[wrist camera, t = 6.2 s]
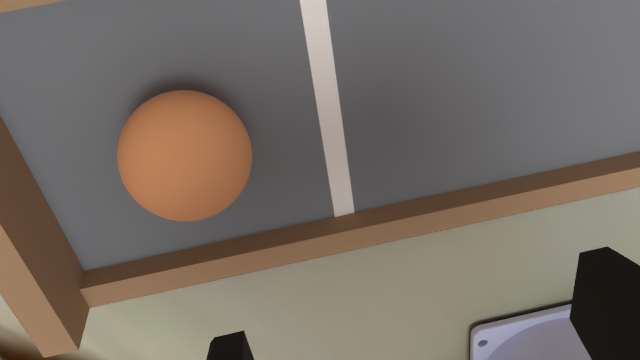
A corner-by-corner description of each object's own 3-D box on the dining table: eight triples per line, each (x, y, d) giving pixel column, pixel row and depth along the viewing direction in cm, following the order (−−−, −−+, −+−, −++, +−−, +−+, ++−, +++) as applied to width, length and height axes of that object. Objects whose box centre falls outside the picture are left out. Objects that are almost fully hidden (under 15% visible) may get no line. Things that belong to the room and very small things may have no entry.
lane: (823, -190, 16) (958, -194, 13) (716, 144, 23) (789, 190, 20) (-108, -19, 15) (-189, 19, 12) (67, 285, 22) (44, 357, 19)
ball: (288, 191, 18) (196, 267, 15) (208, 161, 20) (118, 222, 17) (264, 80, 15) (152, 147, 13) (177, 60, 18) (68, 114, 15)
